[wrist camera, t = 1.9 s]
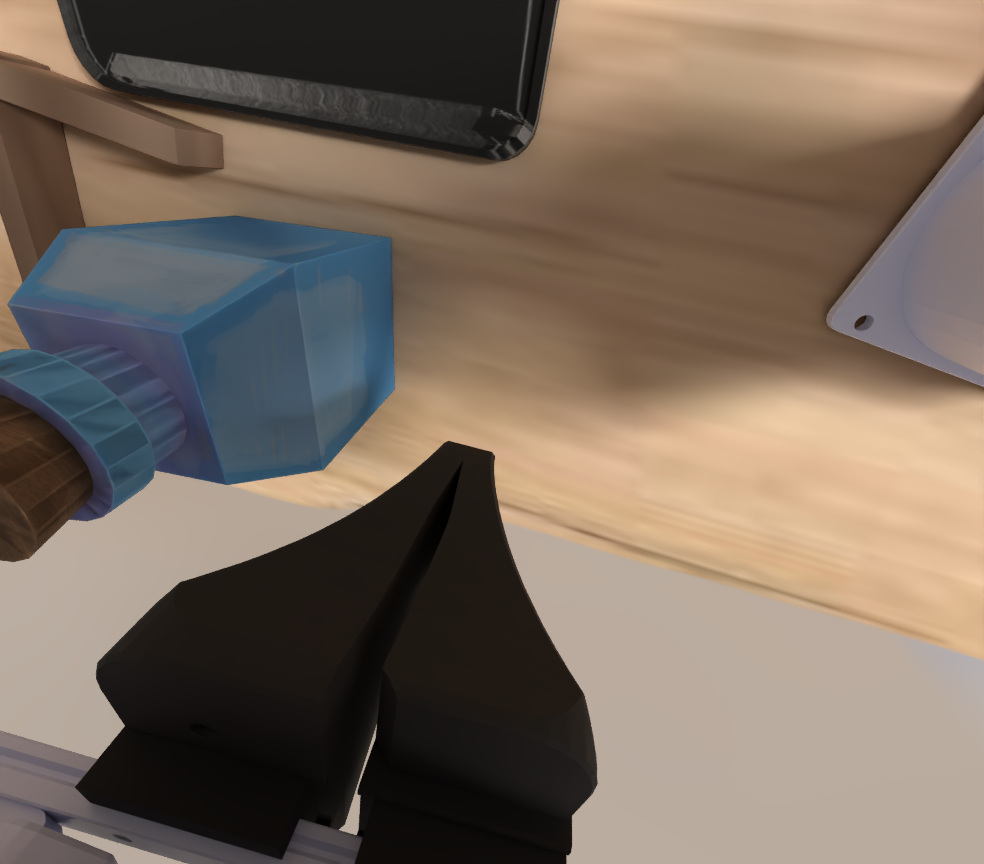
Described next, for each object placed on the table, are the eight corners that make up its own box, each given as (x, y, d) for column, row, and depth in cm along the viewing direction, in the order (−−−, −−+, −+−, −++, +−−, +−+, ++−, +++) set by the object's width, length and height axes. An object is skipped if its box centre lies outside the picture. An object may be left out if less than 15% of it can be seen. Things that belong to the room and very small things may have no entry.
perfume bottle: (394, 388, 18) (171, 642, 8) (266, 366, 19) (-98, 578, 8) (391, 237, 15) (4, 342, 5) (235, 215, 15) (-416, 266, 5)
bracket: (221, 131, 14) (173, 124, 12) (233, 380, 19) (201, 398, 18) (20, 56, 14) (-57, 37, 12) (88, 327, 19) (42, 341, 17)
